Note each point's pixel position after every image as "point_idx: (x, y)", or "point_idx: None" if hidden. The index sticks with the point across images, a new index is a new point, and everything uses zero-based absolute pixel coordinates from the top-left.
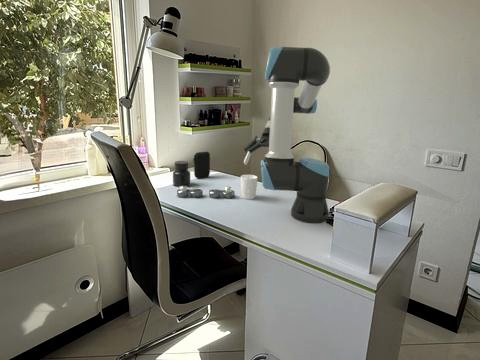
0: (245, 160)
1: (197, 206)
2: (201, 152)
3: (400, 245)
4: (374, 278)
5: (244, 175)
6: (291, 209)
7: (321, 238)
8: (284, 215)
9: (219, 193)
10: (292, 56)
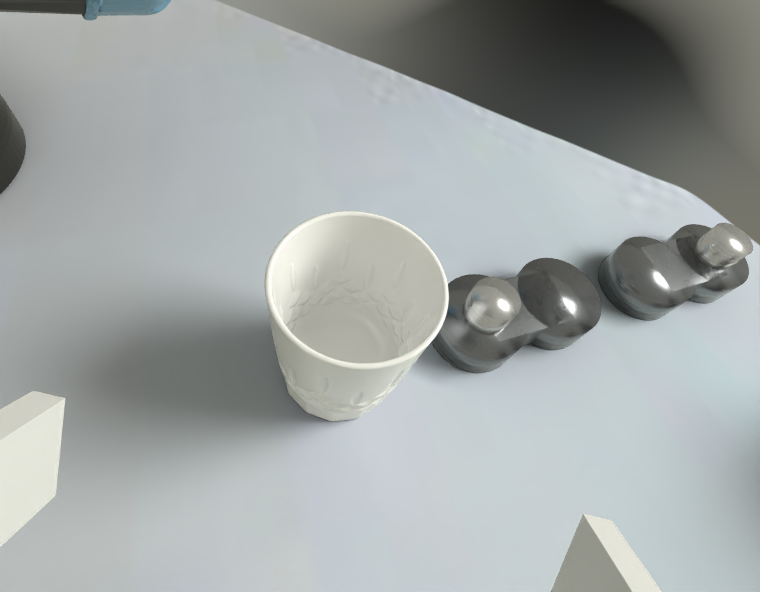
0: (602, 545)
1: (529, 166)
2: None
3: None
4: None
5: (428, 335)
6: (7, 128)
7: None
8: (71, 144)
9: (518, 274)
10: None
